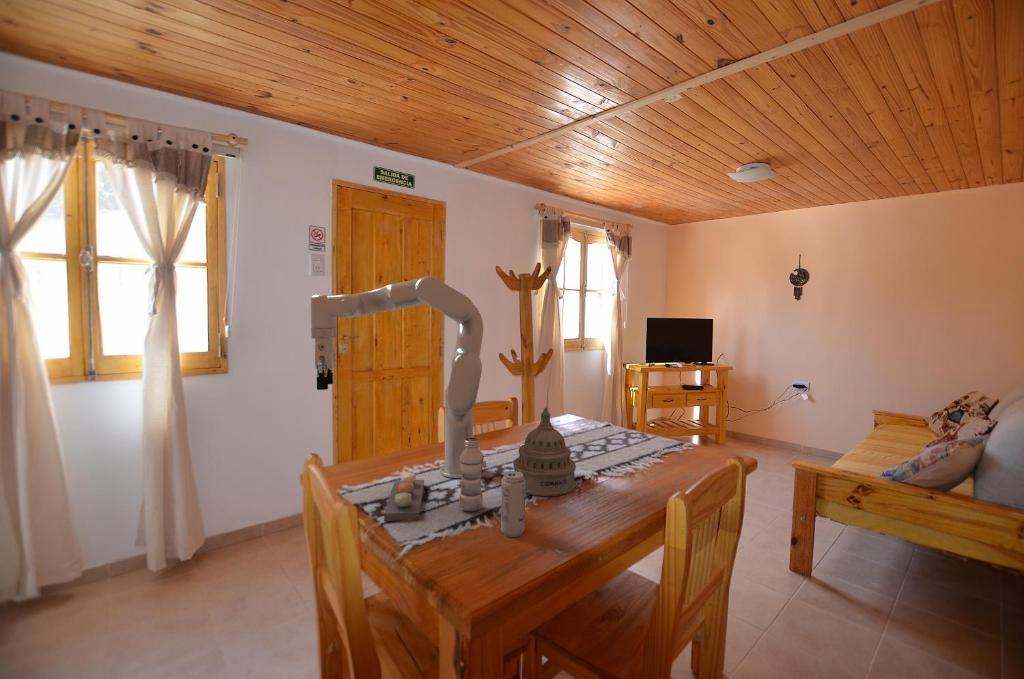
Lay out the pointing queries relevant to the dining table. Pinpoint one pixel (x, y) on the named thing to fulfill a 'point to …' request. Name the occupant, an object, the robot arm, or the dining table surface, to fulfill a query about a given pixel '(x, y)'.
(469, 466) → the plastic bottle
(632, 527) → the dining table surface
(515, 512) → the energy drink can
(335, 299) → the robot arm
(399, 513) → the button board
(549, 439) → the dome
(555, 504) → the dining table surface
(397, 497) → the key sage
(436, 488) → the dining table surface
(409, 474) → the key cream
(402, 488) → the key terracotta
